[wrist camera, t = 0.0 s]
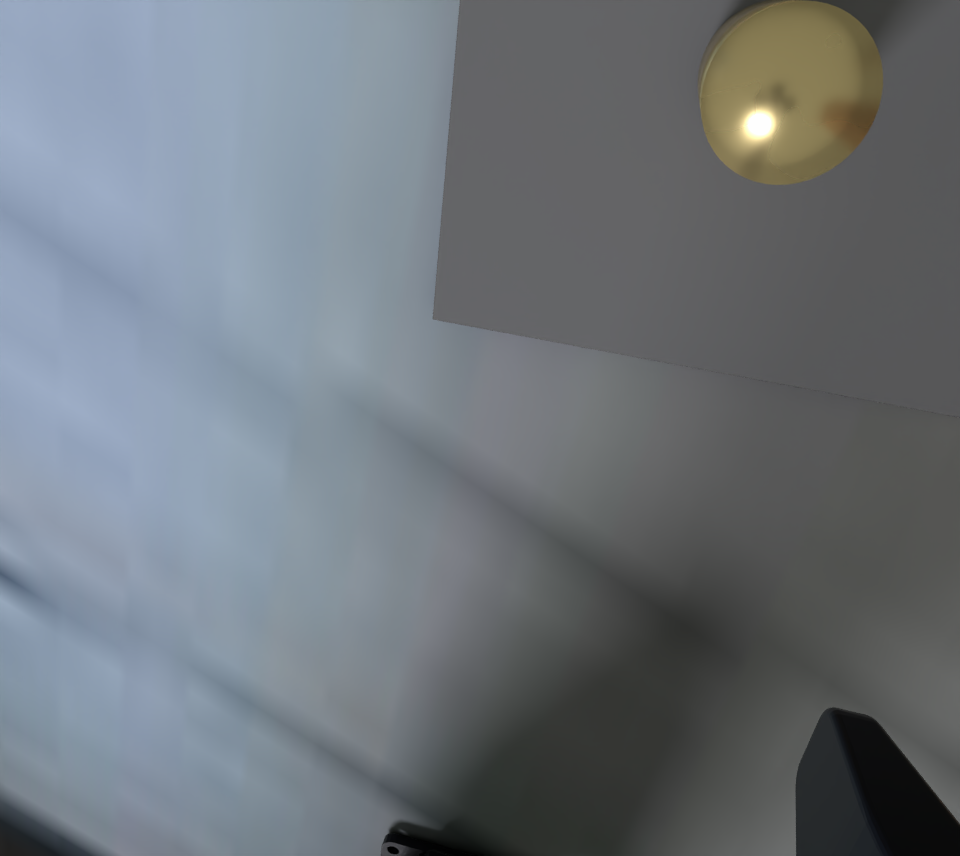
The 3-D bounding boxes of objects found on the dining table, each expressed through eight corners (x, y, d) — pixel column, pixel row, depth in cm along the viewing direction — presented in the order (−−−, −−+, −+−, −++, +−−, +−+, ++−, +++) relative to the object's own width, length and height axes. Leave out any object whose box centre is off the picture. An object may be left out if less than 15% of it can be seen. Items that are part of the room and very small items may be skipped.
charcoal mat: (970, 410, 21) (978, 420, 20) (438, 311, 23) (432, 319, 22) (1300, -312, 14) (1324, -324, 13) (498, -366, 16) (492, -378, 15)
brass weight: (818, 158, 18) (849, 196, 15) (683, 138, 19) (683, 171, 15) (863, 8, 17) (910, 12, 13) (716, -10, 17) (724, -10, 14)
